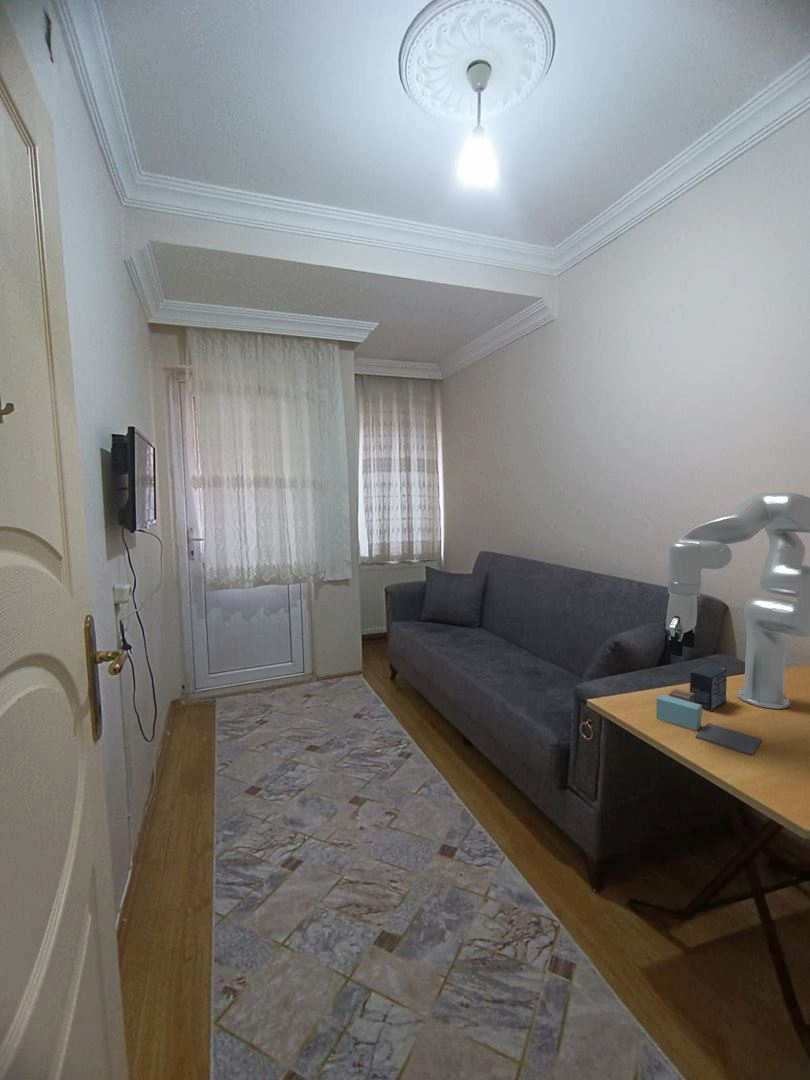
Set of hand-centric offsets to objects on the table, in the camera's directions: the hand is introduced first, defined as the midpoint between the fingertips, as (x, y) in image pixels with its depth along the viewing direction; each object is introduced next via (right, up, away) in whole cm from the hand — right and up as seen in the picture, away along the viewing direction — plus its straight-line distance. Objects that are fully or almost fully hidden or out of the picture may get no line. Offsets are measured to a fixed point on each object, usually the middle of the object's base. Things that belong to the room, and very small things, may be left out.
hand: (681, 650), depth 130 cm
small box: (+16, -19, +14) cm, 28 cm away
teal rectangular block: (0, -20, +2) cm, 21 cm away
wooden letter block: (+6, -20, +10) cm, 22 cm away
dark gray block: (+8, -21, -7) cm, 23 cm away
